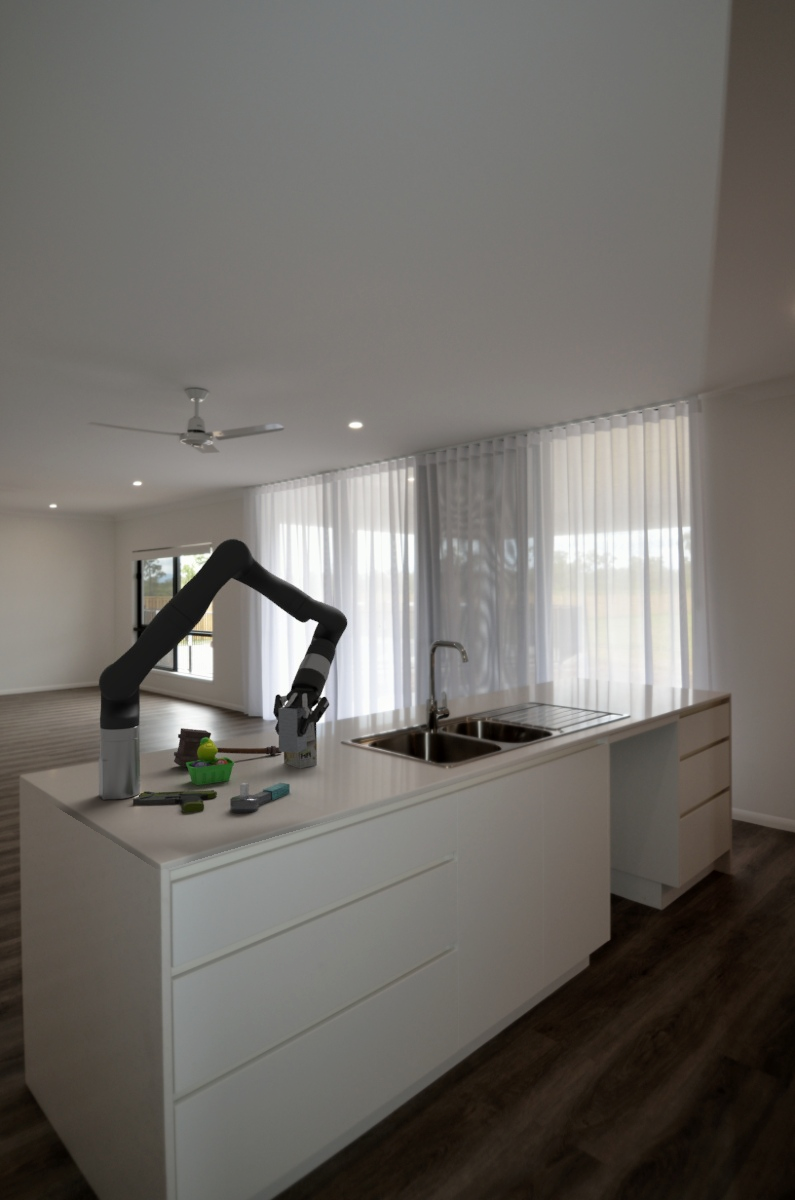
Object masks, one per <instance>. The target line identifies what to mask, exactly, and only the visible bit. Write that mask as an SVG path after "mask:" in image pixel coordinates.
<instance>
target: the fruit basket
mask: <svg viewBox="0 0 795 1200" xmlns="http://www.w3.org/2000/svg"><path fill="white" fill-rule="evenodd" d="M217 748H218V746H216V744H215V743H214V740H212V738H210V739H209V738H202V739H201V741H200V746H199V748H198V751H197V755H198V758H199V759H200V760H197V761H193V762H188V763H186V765H187V766H186V767H187V770H188V773H189V778H190V779H191V782H192V783H193V784H194V785H196V786H203V785H209V784H215V783H221V782H227V781H230V779H231V775H232V771H233V766H234V764H235V761H233V760H232V759H231V758H229V757H227V756H226V757H225V756H224V757H223V756H222V757H216V755H217V752H218V749H217Z"/></svg>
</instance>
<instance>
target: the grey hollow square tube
mask: <svg viewBox="0 0 795 1200" xmlns="http://www.w3.org/2000/svg"><path fill="white" fill-rule="evenodd" d="M284 706H285V705H284ZM284 706H283V707H282V708H279V735H278V747H279V752H282V753H284V752H290V753H299V752H301V751H303V750H305V749H307V731H306V733H305V735H303V737H299V735H298V734H297V730H298V727H299V725H300V722H301V720H302V719H303V714H304V711H305V707H303V706H285V707H284Z"/></svg>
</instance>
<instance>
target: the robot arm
mask: <svg viewBox="0 0 795 1200" xmlns="http://www.w3.org/2000/svg"><path fill="white" fill-rule="evenodd" d="M232 579H233V580H235V581H237V582H240V583H242V584H244V585H245V586H248V587H250V589H253V590H254V591H256V592H258V593H259V594H261V595H262V596H264V597H265V598H266V599H268V600H269V601H271V602H272V604H274V605H276V606H277V607H279V608H280V609H281V610H282V611H284V612H285V613H287V614H289V616H291V617H293V618H294V619H295V620H297V621H298V622H299V623H300V622H301V623H304V624H305V623H306V622H308V621H310V620H311V621H314V622H315V623H317V625H316V627H315V629H314V631H313V635H312V637H311V638H312V639H311V641H310V644H309V645H308V647H307V650H306V653H305V655H304V657H303V659H302V660H301V661H300V664H299V667H298V669H297V672H296V674H295V676H294V679H293V681H292V684H291V688H290V690H289V691H288V693H287V694H286V695H281V694H275V697H274V698H275V699H274V704H273V705H274V706H273V712H272V713H273V715H274V717H275V719H276V720H277V722H276V725H275V726H274V730H275V732H276V734H277V735H278V736H279V708H282V707H285V706H303V707H305V711H304V714H303V719H302V720H301V722H300V725H299V727H298V730H297V734H298V735H299V737H303V735H305V733H306V731H307V729H308V726H309V724H310V723H311V722H315V723H316V724H318V722H319V721H320V720H321V718H322V717H323V716H324V714H325V712H326V710H327V709H328V708H329V707H330V702H329V700H328V698H327V696H323V697H321V695H322V693H323V690H324V688H325V685H326V682H327V680H328V678H329V674H330V669H331V667H332V663H333V662H334V661H333V660H334V658H335V655H336V649H337V646H338V644H339V641H340V639H341V638H342V636H343V634H344V632H345V631H346V628H347V626H348V618H347V616H346V615H345V614H344V612H342V611H341V610H340V609H339V608H337V607H334V606H332V605H330V604H327V603H326V602H325V603H324V602H323V601H320V600H317V599H314V598H313V597H311V596H310V595H309V594H307V593H306V592H305V591H303V590H302V589H300V588H298V587H297V586H295V585H294V584H292V583H290V582H288V581H287V580H285V579H283V578H280V577H279V576H276V575H275V574H274V573H272V572H270V571H269V570H268V569H266V568H265V567H264V566H263V565H262V564H261V563H259V561H257V560H256V558H255V557H254V556H253V555H252V552H251V550H250V548H249V546H248V545H247V543H245V541H243V540H241V539H239V538H228V539H226V540H223V541H222V542H221V543H219V545H218V546H216V548H215V549H214V550H213V552H212V553H211V554H210V556H209V557H208V558H207V559H206V561H205V562H204V563H203V565H202V566H201V568H200V569H199V570H198V571H197V572H196V574H195V575H194V576H193V577H192V578H191V579H190V580H189V581H187V582H186V584H184V585H183V586H182V587H181V588H180V589H179V591H178V592H176V593H175V594H174V596H173V597H172V598H171V599H169V600H168V602H167V603H166V604H165V605H164V606H163V607H162V608H161V609H160V610H159V611H158V612H157V613H156V614H155V616H154V617H153V618H152V620H151V621H149V623H148V625H147V626H146V627H145V629H144V630H143V632H142V633H141V635H140V636H139V637H138V638H137V640H136V641H135V643H133V644H132V646H131V647H130V648H129V649H127V651H125V653H123V654H122V655H121V656H120V657H118V659H117V660H116V661H114V662H113V663H111V664H109V665H107V667H105V668H104V669H103V671H102V672H101V674H100V676H99V679H98V688H99V690H100V713H99V715H100V716H99V727H100V728H99V747H100V748H99V749H100V751H99V752H100V753H99V754H100V755H99V756H98V795H99V797H100V798H101V799H102V800H103V801H105V800H121V799H128V798H131V797H135V796H137V795H138V796H139V795H140V794H141V793H140V792H141V777H140V776H141V764H140V763H141V762H140V761H141V760H140V759H141V758H140V757H141V756H140V753H141V751H140V749H141V748H140V746H141V745H140V743H141V741H140V717H141V716H140V715H141V714H140V713H141V712H140V711H141V708H140V707H141V705H140V702H141V701H140V699H141V696H140V695H141V694H140V691H141V690H140V689H141V688H140V687H141V684H142V683H143V681H144V680H145V679H146V677H147V676H148V675H149V673H150V672H151V671H152V670H153V669H154V667H155V666H156V665H157V664H158V663H159V662H160V661H161V660H162V659H163V658H165V657H166V656H167V655H168V654H169V653H170V652H172V651H173V650H174V648H176V647H177V646H178V645H179V644H180V643H181V642H182V641H183V640H184V639H185V638H186V637H187V636H188V635H189V634H190V633H191V631H193V629H194V628H195V627H196V626H197V625H198V624H199V623H200V622H201V621H202V619H203V617H204V616H205V614H206V613H207V611H208V609H209V608H210V606H211V604H212V602H213V600H214V599H215V597H216V595H217V594H218V592H219V591H220V590H221V589H222V588H223V587H224V586H225V585H226V584H227V583H228V582H229V581H230V580H232ZM313 708H314V710H313ZM312 710H313V712H312Z"/></svg>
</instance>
